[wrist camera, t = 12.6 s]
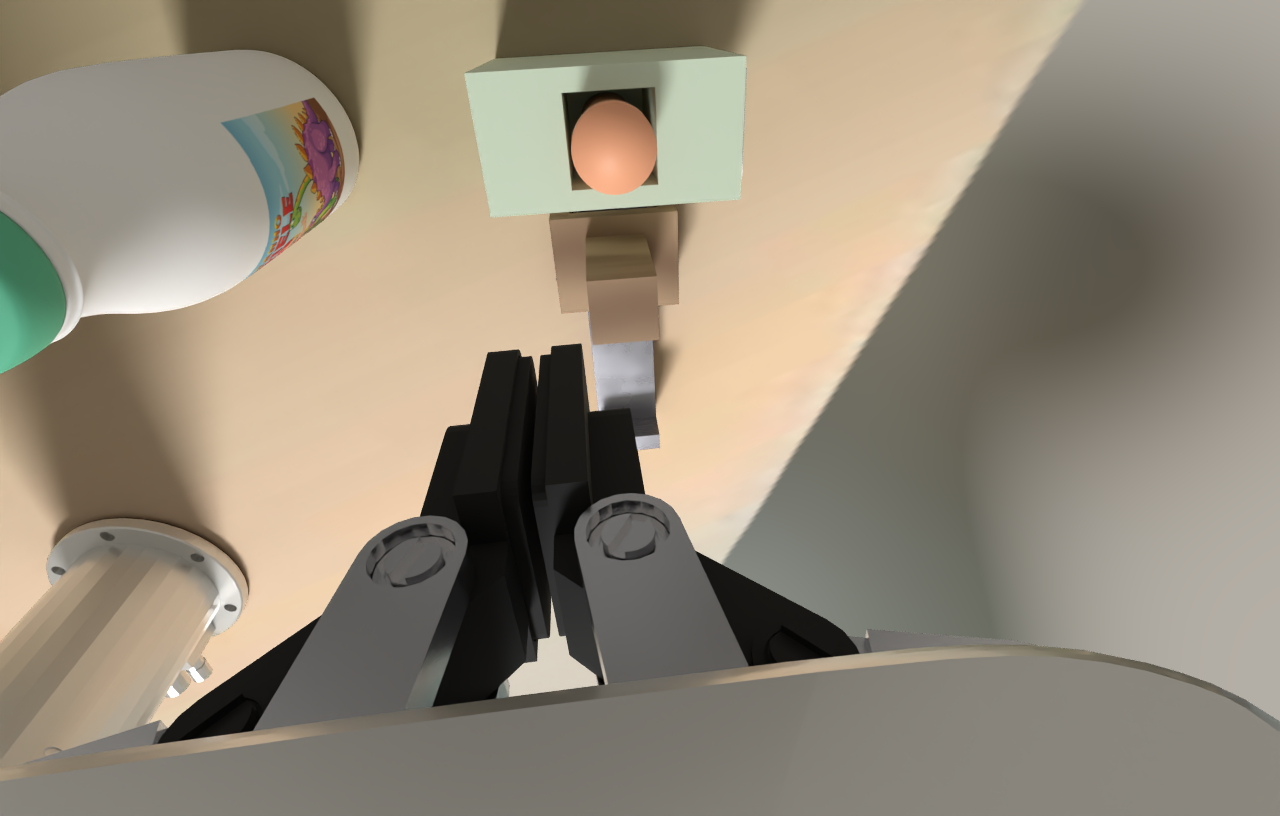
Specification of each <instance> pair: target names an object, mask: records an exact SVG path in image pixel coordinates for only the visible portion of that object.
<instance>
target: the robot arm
mask: <svg viewBox="0 0 1280 816" xmlns="http://www.w3.org/2000/svg"><path fill="white" fill-rule="evenodd" d="M46 570H47V574H48V578H49V582H50V583H51V585H52V587H51V588H50V589H49V590H48V591H47V592H46V593H45V594H44V595H43V596H42V597H41V598H40V599H39V601H38V602H37V603H36V604H35V605H34V606H33V607H32V608H31V609H30V610H29V611H28V612H27V613H26V614H25V616H24V617H23V618H22V619H21V620H20V621H19V622H18V623H17V624H16V625H15V626H14V627H13V628H12V630H11V631H10V632H9V633H8V634H7V635H6V636H5V637H4V638H3V639H2V640H1V641H0V816H1280V721H1278V720H1277V719H1275V718H1274V717H1272V716H1270V715H1269V714H1267V713H1266V712H1264V711H1263V710H1261V709H1259V708H1258V707H1256V706H1254V705H1253V704H1251V703H1250V702H1248V701H1247V700H1245V699H1243V698H1241V697H1239V696H1237V695H1235V694H1233V693H1231V692H1228V691H1226V690H1224V689H1222V688H1220V687H1218V686H1216V685H1214V684H1212V683H1209V682H1206V681H1203V680H1200V679H1198V678H1195V677H1192V676H1189V675H1186V674H1183V673H1180V672H1177V671H1174V670H1170V669H1167V668H1163V667H1159V666H1156V665H1153V664H1149V663H1145V662H1140V661H1135V660H1130V659H1125V658H1120V657H1115V656H1111V655H1106V654H1101V653H1096V652H1091V651H1086V650H1078V649H1068V648H1058V647H1048V646H1038V645H1033V644H1029V643H1025V642H1020V641H1012V640H1000V639H987V638H974V637H962V636H949V635H936V634H923V633H910V632H897V631H885V630H872V629H867V632H866V636H865V638H863V637H851V636H847V635H846V633H845V632H844V631H843V630H841V629H840V628H838V627H837V626H836V625H834V624H833V623H831V622H829V621H828V620H827V619H825V618H823V617H821V616H819V615H817V614H815V613H813V612H811V611H809V610H807V609H806V608H804V607H802V606H800V605H798V604H796V603H794V602H792V601H790V600H788V599H786V598H785V597H783V596H781V595H779V594H777V593H775V592H773V591H771V590H769V589H767V588H766V587H764V586H762V585H760V584H758V583H756V582H754V581H752V580H750V579H748V578H746V577H745V576H743V575H741V574H739V573H737V572H735V571H733V570H731V569H729V568H727V567H725V566H724V565H722V564H720V563H718V562H716V561H714V560H712V559H710V558H708V557H706V556H704V555H702V554H701V553H699V552H697V551H695V550H694V547H693V545H692V543H691V541H690V539H689V537H688V535H687V532H686V530H685V528H684V526H683V524H682V522H681V520H680V517H679V516H678V515H677V513H676V512H675V510H674V509H673V508H672V507H671V506H670V505H668V504H667V503H665V502H664V501H662V500H661V499H658V498H655V497H652V496H650V495H646V494H645V491H644V485H643V479H642V473H641V468H640V462H639V456H638V450H637V445H636V439H635V433H634V427H633V421H632V416H631V410H630V408H622V409H612V410H602V411H593V412H590V410H589V402H588V393H587V385H586V376H585V368H584V360H583V352H582V345H581V344H571V345H561V346H552V347H551V354H549V355H541V356H540V368H539V380H538V386H537V380H536V374H535V368H534V363H533V359H532V356H529V357H522V356H521V353H520V350H509V351H498V352H488V354H487V358H486V362H485V366H484V370H483V374H482V378H481V382H480V386H479V390H478V394H477V398H476V402H475V406H474V410H473V415H472V419H471V423H470V424H467V425H457V426H450V427H448V428H447V430H446V432H445V435H444V439H443V442H442V445H441V449H440V452H439V455H438V459H437V462H436V465H435V468H434V472H433V475H432V478H431V482H430V485H429V488H428V492H427V495H426V498H425V501H424V505H423V508H422V511H421V515H420V517H414V518H411V519H407V520H404V521H401V522H398V523H396V524H394V525H392V526H390V527H388V528H386V529H384V530H382V531H381V532H380V533H378V534H377V535H376V536H374V537H373V538H372V539H371V540H369V541H368V542H367V544H366V545H365V546H364V547H363V549H362V550H361V551H360V552H359V554H358V555H357V557H356V559H355V560H354V562H353V564H352V565H351V567H350V569H349V570H348V572H347V574H346V575H345V577H344V579H343V580H342V582H341V584H340V585H339V587H338V589H337V590H336V592H335V594H334V596H333V597H332V599H331V601H330V602H329V604H328V606H327V607H326V609H325V611H324V612H323V614H322V615H321V616H320V617H318V618H317V619H315V620H314V621H312V622H311V623H309V624H308V625H307V626H305V627H304V628H302V629H301V630H299V631H298V632H296V633H295V634H294V635H292V636H291V637H289V638H288V639H286V640H285V641H283V642H282V643H280V644H279V645H278V646H276V647H275V648H273V649H272V650H270V651H269V652H267V653H266V654H264V655H263V656H262V657H260V658H259V659H257V660H256V661H254V662H253V663H251V664H250V665H249V666H247V667H246V668H244V669H243V670H241V671H240V672H238V673H237V674H235V675H234V676H233V677H231V678H230V679H228V680H227V681H225V682H224V683H222V684H221V685H219V686H218V687H217V688H215V689H214V690H212V691H211V692H209V693H208V694H206V695H205V696H204V697H202V698H201V699H199V700H198V701H197V702H196V703H194V704H193V705H192V706H191V707H189V708H188V709H187V710H186V711H184V712H183V713H182V714H181V715H180V716H179V717H178V718H177V719H176V720H175V721H174V722H173V723H172V725H171V726H170V727H169V728H167V727H166V726H165V725H164V724H163V722H162V721H161V720H159V721H156V722H153V723H149V722H150V720H151V719H152V717H153V716H154V714H155V712H156V711H157V709H158V707H159V706H160V704H161V703H162V701H163V699H164V698H165V697H174V696H177V695H179V694H181V693H182V692H184V691H185V690H186V689H187V688H188V686H189V685H190V682H191V678H192V679H193V681H194V682H200V681H203V680H205V679H206V678H208V677H209V676H210V675H211V673H212V670H213V669H212V667H211V666H210V664H209V663H208V662H207V660H206V659H205V658H204V657H202V655H201V654H202V651H203V650H204V648H205V646H206V645H207V643H208V641H209V640H210V638H211V637H213V636H215V635H218V634H220V633H222V632H224V631H225V630H227V629H229V628H230V627H231V626H232V625H233V624H234V623H235V622H236V621H237V620H238V618H239V617H240V615H241V613H242V612H243V610H244V608H245V606H246V603H247V600H248V587H247V584H246V581H245V577H244V576H243V574H242V573H241V571H240V569H239V568H238V566H237V565H236V564H235V563H234V562H233V561H232V560H231V559H230V558H229V556H228V555H226V554H225V553H224V552H223V551H221V550H220V549H219V548H217V547H216V546H215V545H213V544H211V543H210V542H208V541H206V540H205V539H203V538H201V537H200V536H197V535H195V534H193V533H190V532H188V531H186V530H183V529H181V528H177V527H174V526H171V525H168V524H164V523H160V522H154V521H149V520H143V519H129V518H117V519H104V520H99V521H94V522H89V523H87V524H84V525H82V526H79V527H77V528H75V529H73V530H72V531H71V532H69V533H68V534H66V535H65V536H64V537H63V538H62V539H61V540H60V541H59V542H58V543H57V544H56V546H55V547H54V548H53V549H52V550H51V552H50V554H49V556H48V558H47V564H46ZM551 597H552V602H553V607H554V612H555V617H556V622H557V627H558V632H559V635H560V636H566V639H567V644H568V649H569V654H570V656H571V657H573V658H574V659H576V660H577V661H578V662H580V663H581V664H582V665H584V666H585V667H586V668H588V669H589V670H590V671H592V672H593V673H594V674H596V680H597V686H591V687H583V688H575V689H568V690H560V691H552V692H544V693H537V694H529V695H521V696H514V697H509V689H510V685H509V681H508V677H510V676H511V675H512V674H513V673H514V672H515V671H516V670H517V669H518V668H519V667H520V666H521V665H522V664H523V663H527V662H535V661H537V649H538V639H543V638H549V637H550V620H551ZM185 670H186V671H185ZM187 673H188V674H189V675H188V674H187ZM190 677H191V678H190Z"/></svg>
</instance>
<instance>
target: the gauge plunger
mask: <svg viewBox="0 0 1280 816" xmlns="http://www.w3.org/2000/svg"><path fill="white" fill-rule="evenodd" d="M571 154H572V160H573V163H574V166H575V169H576V171H577V172H578V174H579V176H580V177H581V178H582V180H583V181H584V182H585V183H586V184H587V185H588V186H590V187H591V188H593V189H594V190H596V191H598V192H601V193H604V194H609V195H620V194H625V193H628V192H631V191H633V190H635V189H636V188H638V187H639V186H640V185H642V184H643V183H644V182H645V181H646V179H647V178H648V177H649V175H650V174H651V172H652V170H653V167H654V165H655V161H656V156H657V142H656V137H655V134H654V131H653V129H652V127H651V125H650V123H649V121H648V120H647V118H646V117H645V116H644V115H643V113H642V112H641V111H640V110H638V109H637V108H636V107H634V106H633V105H631V104H629V103H628V102H627V101H626V100H625V99H624V98H623V97H621V96H620V95H618V94H616V93H613V92H601V93H597V94H595V95H594V96H592V97H591V98H590V99H589V100H588V101H587V102H586V103H585V105H584V107H583V109H582V112H581V116H580V118H579V119H578V121H577V123H576V125H575V128H574V130H573V135H572V142H571Z"/></svg>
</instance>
